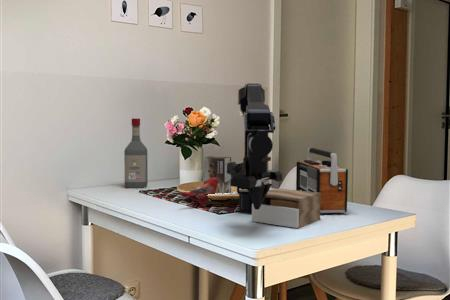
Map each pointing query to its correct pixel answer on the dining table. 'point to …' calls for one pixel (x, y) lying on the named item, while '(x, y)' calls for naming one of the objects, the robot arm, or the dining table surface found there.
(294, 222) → the tray
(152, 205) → the dining table surface
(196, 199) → the decorative bird figurine
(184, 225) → the dining table surface
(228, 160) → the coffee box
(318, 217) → the box
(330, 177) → the radio cassette player
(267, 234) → the dining table surface
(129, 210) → the dining table surface
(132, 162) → the liquor
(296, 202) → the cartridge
